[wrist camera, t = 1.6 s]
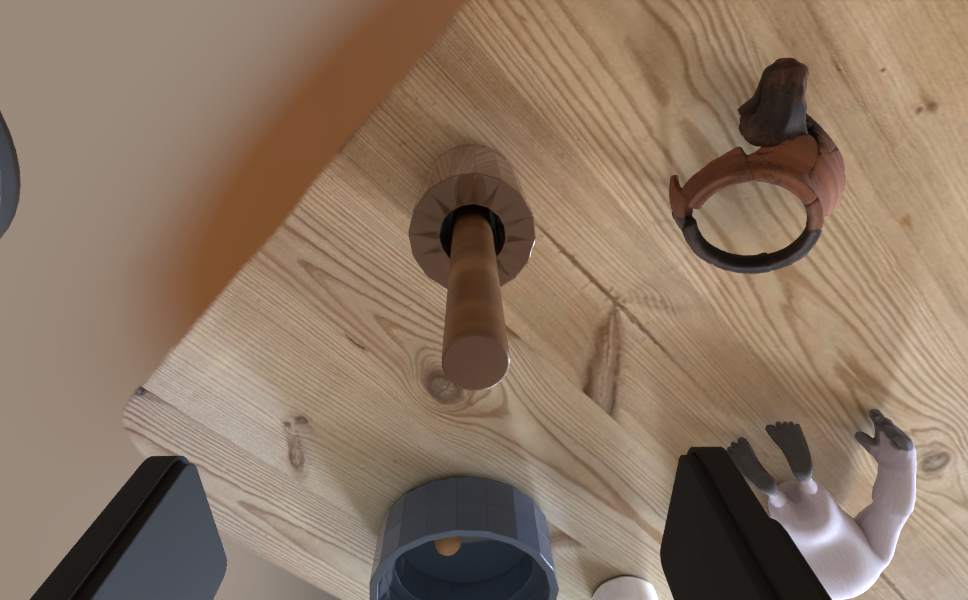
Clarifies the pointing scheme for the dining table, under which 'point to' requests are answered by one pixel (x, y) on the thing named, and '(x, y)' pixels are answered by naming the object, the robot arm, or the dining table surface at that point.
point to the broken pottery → (769, 168)
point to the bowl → (464, 545)
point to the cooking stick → (474, 306)
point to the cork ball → (448, 545)
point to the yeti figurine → (819, 519)
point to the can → (625, 589)
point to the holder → (466, 182)
